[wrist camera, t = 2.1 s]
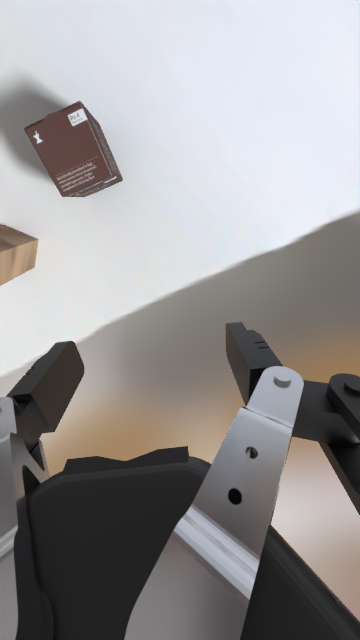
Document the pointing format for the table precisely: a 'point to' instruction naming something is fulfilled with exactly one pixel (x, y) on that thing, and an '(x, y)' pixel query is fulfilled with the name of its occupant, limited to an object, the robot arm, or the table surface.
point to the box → (74, 151)
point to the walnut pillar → (15, 253)
